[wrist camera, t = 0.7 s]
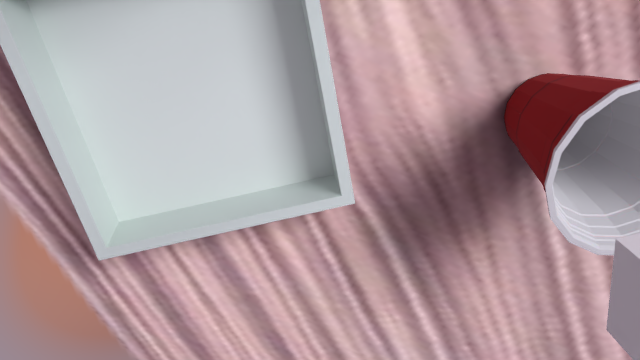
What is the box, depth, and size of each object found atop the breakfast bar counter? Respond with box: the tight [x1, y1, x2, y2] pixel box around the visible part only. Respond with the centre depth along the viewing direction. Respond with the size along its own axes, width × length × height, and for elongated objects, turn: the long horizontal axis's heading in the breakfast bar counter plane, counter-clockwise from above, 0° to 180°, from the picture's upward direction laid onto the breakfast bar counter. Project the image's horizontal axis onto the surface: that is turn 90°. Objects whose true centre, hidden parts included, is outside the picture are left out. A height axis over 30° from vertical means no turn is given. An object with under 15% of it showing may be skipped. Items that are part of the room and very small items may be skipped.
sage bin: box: [0, 0, 355, 260], centre depth 32 cm, size 18×18×4 cm
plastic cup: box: [504, 73, 640, 255], centre depth 32 cm, size 11×11×12 cm
